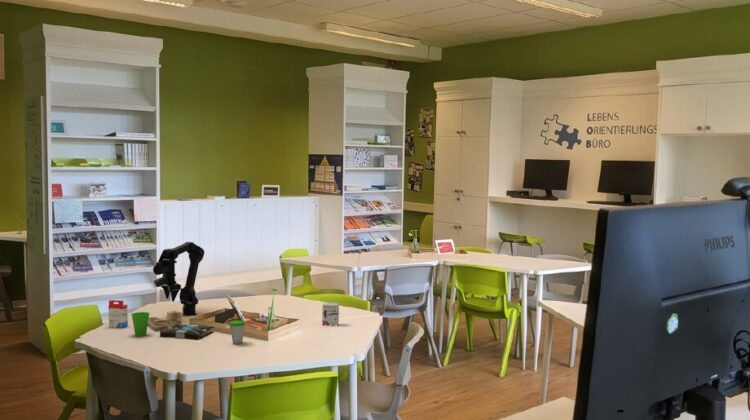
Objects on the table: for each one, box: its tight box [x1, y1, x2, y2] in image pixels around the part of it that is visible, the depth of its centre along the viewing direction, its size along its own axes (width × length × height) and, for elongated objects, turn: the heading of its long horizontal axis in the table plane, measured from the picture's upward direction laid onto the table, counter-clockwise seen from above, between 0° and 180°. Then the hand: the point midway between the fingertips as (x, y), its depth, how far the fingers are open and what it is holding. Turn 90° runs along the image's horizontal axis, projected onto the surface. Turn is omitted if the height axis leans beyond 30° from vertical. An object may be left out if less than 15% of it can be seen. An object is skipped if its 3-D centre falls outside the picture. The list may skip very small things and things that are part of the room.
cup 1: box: [130, 311, 151, 337], centre depth 334 cm, size 9×9×11 cm
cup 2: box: [229, 313, 246, 345], centre depth 321 cm, size 8×8×15 cm
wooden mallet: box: [154, 310, 182, 327], centre depth 351 cm, size 14×5×8 cm, turn 125°
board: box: [147, 316, 171, 332], centre depth 355 cm, size 8×25×2 cm, turn 35°
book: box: [159, 324, 214, 341], centre depth 337 cm, size 22×17×5 cm
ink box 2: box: [321, 302, 340, 326], centre depth 361 cm, size 8×5×12 cm, turn 86°
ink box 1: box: [108, 299, 129, 329], centre depth 350 cm, size 8×5×15 cm, turn 84°
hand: (170, 299), depth 366 cm, fingers open, 9 cm apart
